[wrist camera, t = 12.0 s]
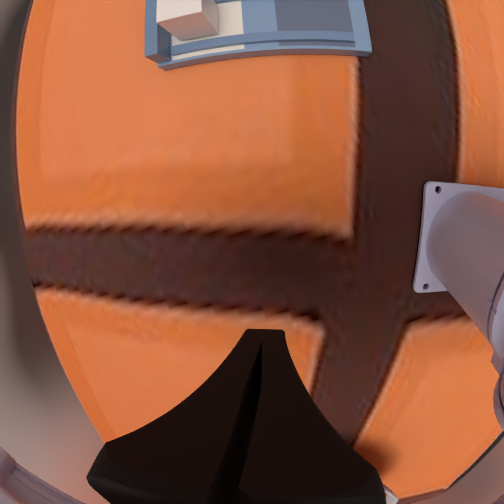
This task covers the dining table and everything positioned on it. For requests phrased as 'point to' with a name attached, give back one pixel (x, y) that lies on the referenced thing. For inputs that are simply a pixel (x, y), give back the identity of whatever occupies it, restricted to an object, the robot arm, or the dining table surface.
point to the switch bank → (264, 32)
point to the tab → (188, 17)
